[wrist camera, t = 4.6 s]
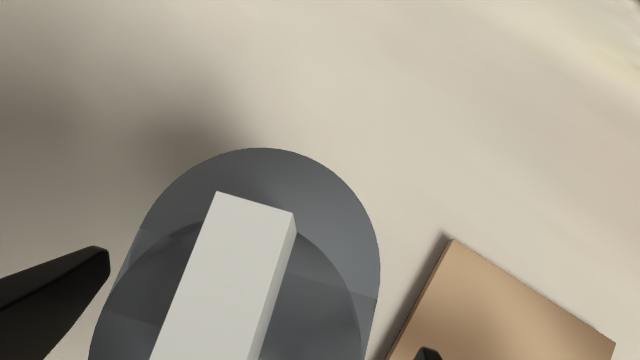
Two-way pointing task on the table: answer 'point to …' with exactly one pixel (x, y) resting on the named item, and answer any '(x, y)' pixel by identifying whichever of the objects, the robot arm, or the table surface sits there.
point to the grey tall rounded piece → (246, 267)
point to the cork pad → (491, 317)
